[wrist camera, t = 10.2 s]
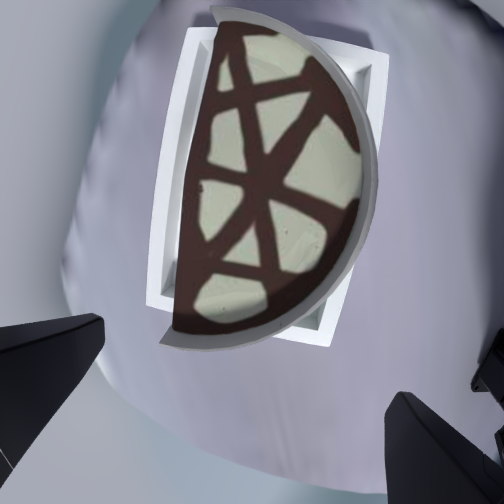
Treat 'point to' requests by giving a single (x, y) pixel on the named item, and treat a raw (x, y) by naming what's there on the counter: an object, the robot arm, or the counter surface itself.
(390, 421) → the robot arm
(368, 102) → the tray
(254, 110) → the food container
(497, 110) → the counter surface
